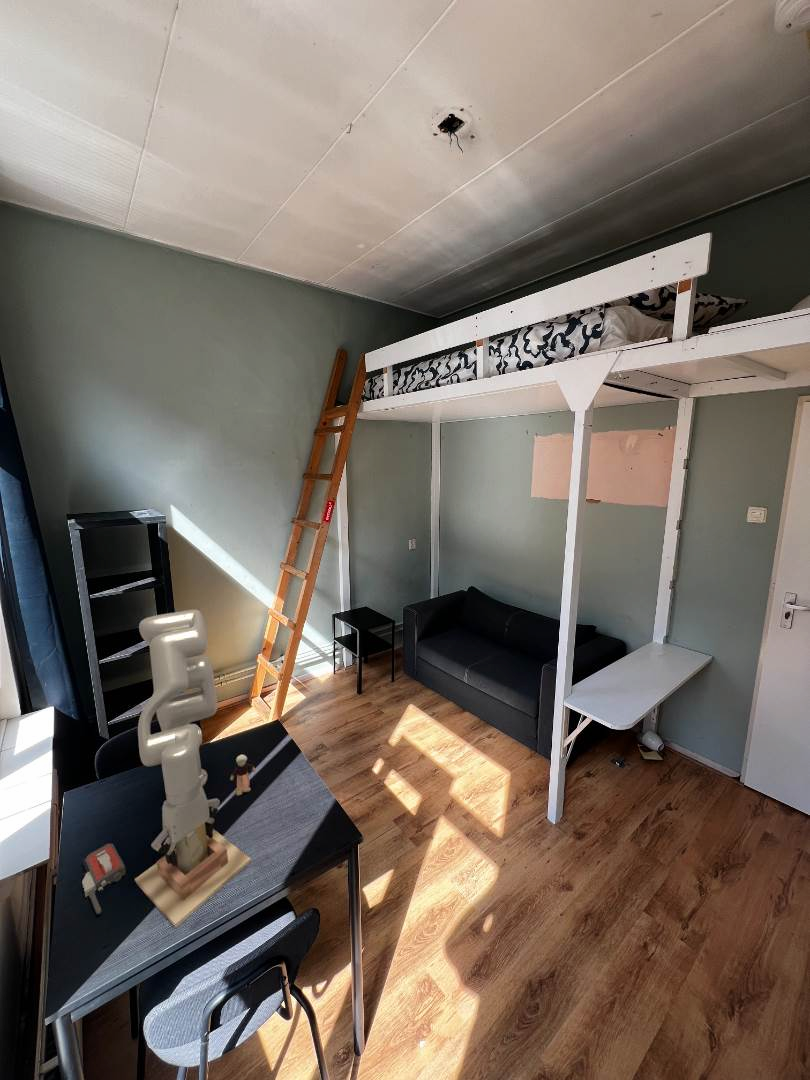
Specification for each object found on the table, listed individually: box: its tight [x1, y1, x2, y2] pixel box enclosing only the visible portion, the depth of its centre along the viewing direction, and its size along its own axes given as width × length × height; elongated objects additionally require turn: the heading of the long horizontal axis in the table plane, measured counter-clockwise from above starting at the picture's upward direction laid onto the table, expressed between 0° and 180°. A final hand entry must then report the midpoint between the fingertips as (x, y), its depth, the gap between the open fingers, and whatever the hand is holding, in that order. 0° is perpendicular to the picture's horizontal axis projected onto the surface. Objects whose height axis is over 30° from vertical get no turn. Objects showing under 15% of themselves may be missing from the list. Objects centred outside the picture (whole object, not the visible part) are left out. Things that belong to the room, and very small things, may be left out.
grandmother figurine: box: [229, 754, 256, 796], centre depth 140 cm, size 8×4×13 cm, turn 131°
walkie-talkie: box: [81, 843, 126, 915], centre depth 111 cm, size 9×4×20 cm
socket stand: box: [134, 828, 252, 929], centre depth 112 cm, size 20×20×5 cm
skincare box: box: [175, 823, 209, 875], centre depth 112 cm, size 6×4×12 cm
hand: (191, 848), depth 112 cm, fingers open, 9 cm apart
